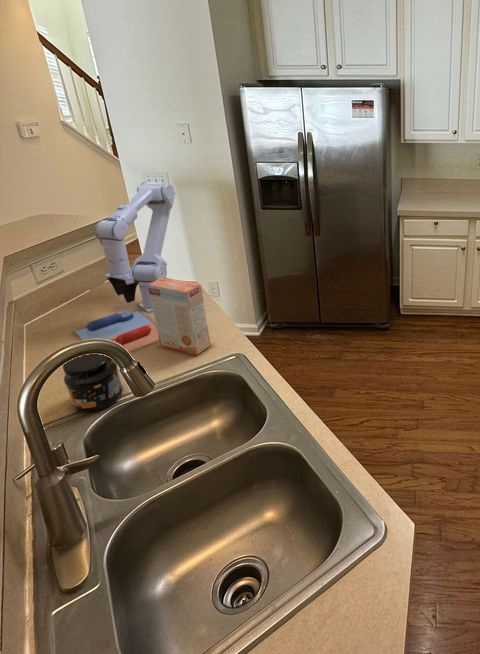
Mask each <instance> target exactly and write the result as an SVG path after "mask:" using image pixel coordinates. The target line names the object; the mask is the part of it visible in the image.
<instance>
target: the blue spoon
mask: <svg viewBox="0 0 480 654" xmlns="http://www.w3.org/2000/svg"><path fill="white" fill-rule="evenodd" d="M132 312H133V311H131V310H124V311H121V312H115V313H112V314H110V315H107V316H104V317H100V318H97V319H95V320H92V321H89V322H87V324H86V327H85V328H87V329H88V330H95V329H98V328H101V327H104V326H107V325H110V324H113V323H115V322H126V321H129V320H131V319H132V318H133V313H132Z"/></svg>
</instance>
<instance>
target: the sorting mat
mask: <svg viewBox="0 0 480 654" xmlns="http://www.w3.org/2000/svg"><path fill="white" fill-rule="evenodd" d="M131 312H132V313H133V318H132V319H131V320H129V321H126V322H115V323H113V324H110V325H107V326H104V327H101V328H98V329H95V330H88V329H87V327H84V328H81V329H78V330H75V331H74V332H75V333H76V334H77V336H78V337H79V339H81V340H82V341H83V340H85V339H91V338H103V339H113V338H116V337H117V336H119V335H121V334H124V333H127V332H129V331H132V330H135V329H138V328H140V327H143V326H149V327H150V328H151V332H150V333H149V334H147V335H145V336H142V337H139V338H137V339H134V340H132V341H129V342H126V343H124V344H122V346H123V347H124V348H126V349H127V350H128V352H127V353H130V352H132V351H134V350H137V349H139V348H142V347H144V346H146V345H149V344H152V343H153V342H154V343H155V342H158V341H159V336H158V332H157V327H156V323H154V322H153V321H151V320H150V319H148V317H146V316H144V315H143V314H142V313H141V312H140V311H138V310H133V311H131Z"/></svg>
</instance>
